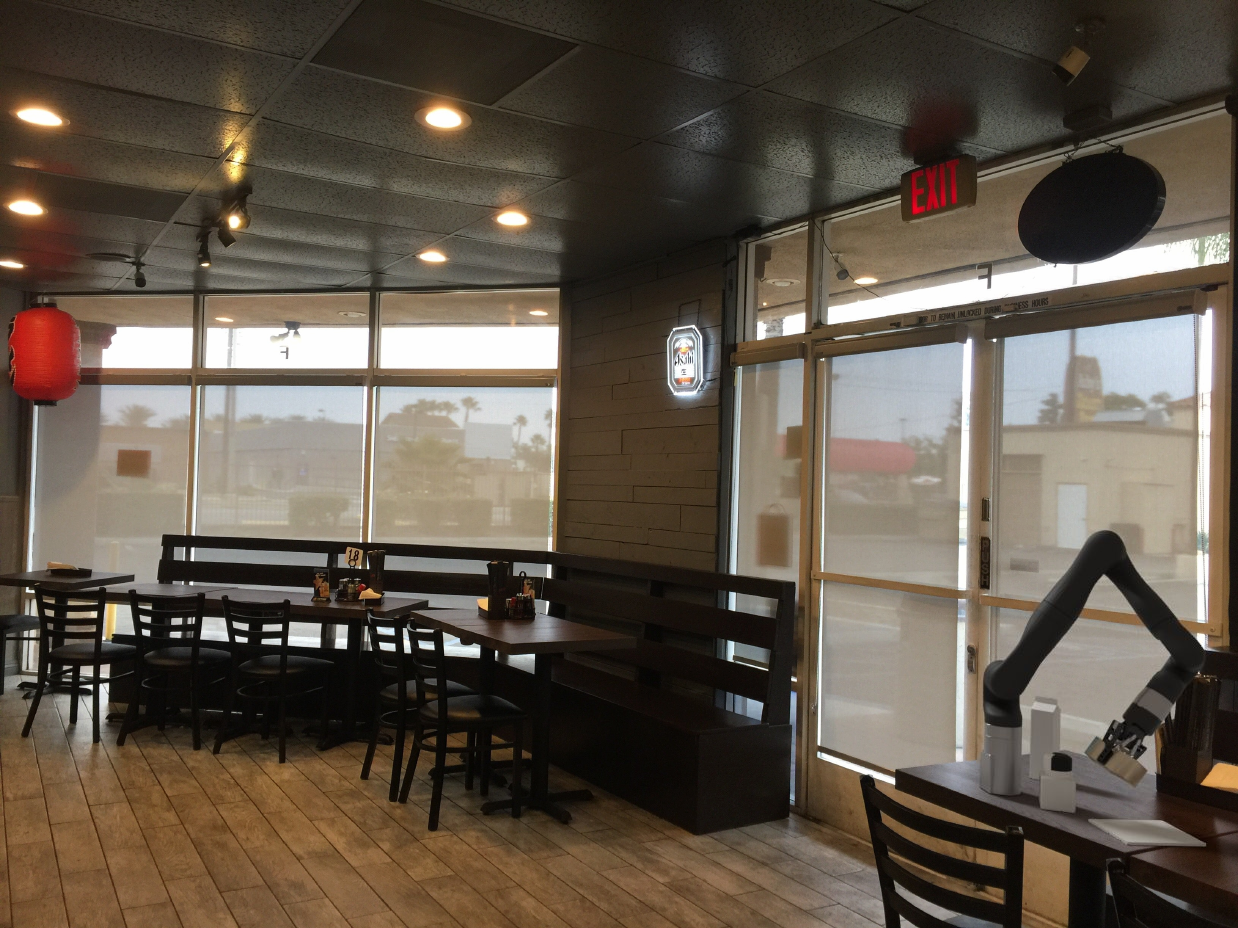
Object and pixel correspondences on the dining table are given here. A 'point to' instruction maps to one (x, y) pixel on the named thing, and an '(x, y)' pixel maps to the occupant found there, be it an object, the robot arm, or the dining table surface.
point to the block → (1117, 763)
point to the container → (1057, 783)
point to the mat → (1146, 832)
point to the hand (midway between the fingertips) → (1105, 767)
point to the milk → (1043, 732)
